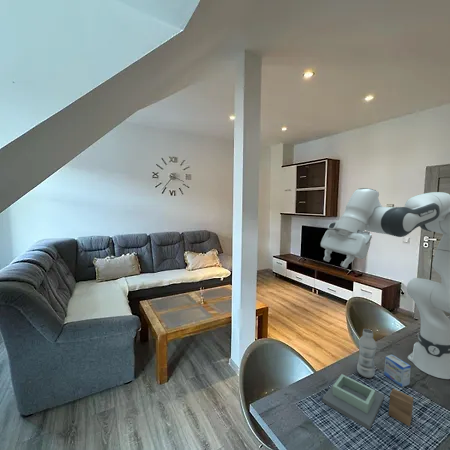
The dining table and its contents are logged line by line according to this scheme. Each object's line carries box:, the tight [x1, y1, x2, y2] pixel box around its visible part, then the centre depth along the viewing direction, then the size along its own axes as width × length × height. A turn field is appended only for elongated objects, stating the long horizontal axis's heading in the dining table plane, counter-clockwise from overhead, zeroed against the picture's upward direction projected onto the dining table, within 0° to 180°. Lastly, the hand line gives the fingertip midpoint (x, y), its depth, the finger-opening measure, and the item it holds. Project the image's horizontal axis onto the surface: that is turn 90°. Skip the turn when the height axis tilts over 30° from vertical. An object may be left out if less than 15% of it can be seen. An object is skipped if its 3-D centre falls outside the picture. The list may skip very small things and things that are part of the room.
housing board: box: [321, 373, 385, 431], centre depth 93 cm, size 18×16×5 cm
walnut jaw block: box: [388, 388, 414, 427], centre depth 85 cm, size 4×6×8 cm, turn 44°
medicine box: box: [383, 354, 412, 388], centre depth 103 cm, size 8×4×9 cm, turn 21°
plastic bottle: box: [356, 328, 378, 379], centre depth 105 cm, size 6×7×20 cm
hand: (334, 263), depth 88 cm, fingers open, 8 cm apart
